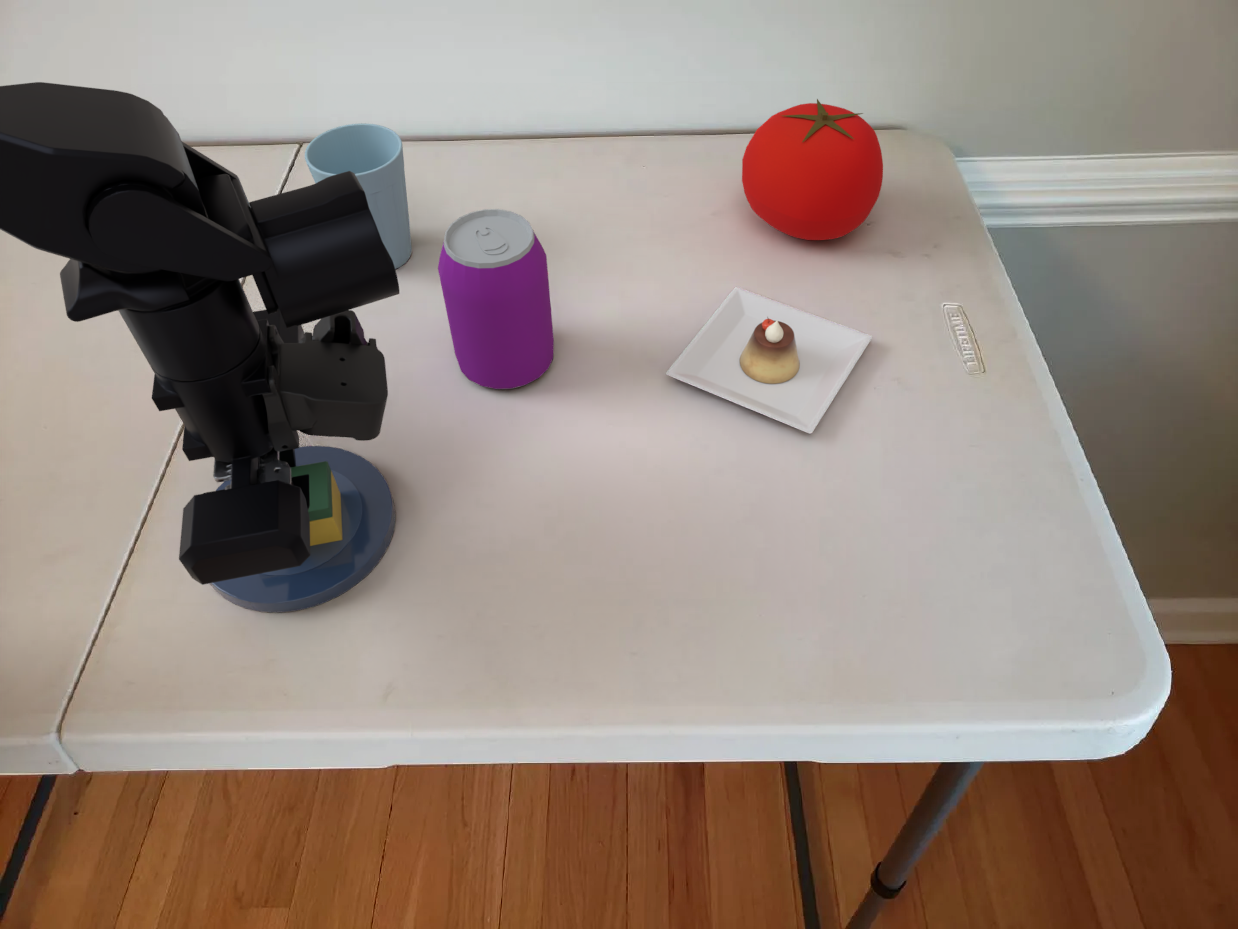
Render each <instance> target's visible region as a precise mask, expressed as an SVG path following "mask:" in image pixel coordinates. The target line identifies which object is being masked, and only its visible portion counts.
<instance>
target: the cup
mask: <svg viewBox="0 0 1238 929" xmlns="http://www.w3.org/2000/svg"><path fill="white" fill-rule="evenodd" d="M403 148H404V146H403V141H402V138H401V137H400V135H399V134H398V133H397V132H396V131H394V130H393V129H391V128H389V127H386V126H384V125H380V124H375V123H366V122H365V123H362V122H361V123H350V124H343V125H339V126H336V127H332V128H329V129H328V130H326V131H324V132H322V133H320V134H318V135H316V137H314V138H313V139H312V140H311V141H310V142H309V143H308V144H307V146H306V148H305V151H304V160H305V161H304V162H305V163H306V166H307V167H308V170H309V173H310V175H311V177H312V180H313V181H314V184H316V183H317V182H319V181H321V180H323V179H325V178H327V177H330V176H333V175H336V174H340V173H344V172H347V171H351V172H353V173H355V175H356V177H357V179H358V181H359V183H360V184H361V186H362V188H363V190H364V192H365V195H366V198H367V202H368V206H369V209H370V211H371V214H372V216H373V219H374V221H375V223H376V226H377V229H378V231H379V234H380V237H381V239H382V242H383V244H384V245H385V247H386V249H387V251H388V253H389V255H390V257H391V258H392V261H393V263H394V267H395V270H397V269H399V268H401V267H402V266H404V264H406V263H407V262H408V261H409V260H410V257H411V256H412V251H413V249H412V237H411V226H410V216H409V206H408V205H409V202H408V194H407V182H406V173H405V172H406V171H405V159H404V149H403Z"/></svg>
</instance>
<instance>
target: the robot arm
mask: <svg viewBox="0 0 1238 929" xmlns="http://www.w3.org/2000/svg"><path fill="white" fill-rule="evenodd" d="M0 231H2V232H4V233H6V234H8V235H10V236H11V237H13V238H15V239H17V240H19V241H20V242H22V243H24V244H26V245H27V246H30V247H31V248H34V249H35V250H39V251H42V252H46V253H49V254H53V255H56V256H60V257H63V258H66V259H68V261H67V263H66V264H65V265H64V266H63V268H62V269H61V270H60V272H59V278H60V284H61V289H62V290H61V291H62V295H63V302H64V307H65V313H66V316H67V318H68V319H69V320H70V321H72V322H75V323H79V322H83V321H87V320H90V319H93V318H96V317H100V316H104V315H107V314H110V313H113V312H117V311H118V313H119V314H120V316H121V317H122V319H123V321H124V323H125V325H126V326H127V329H128V330H129V331H130V333H131V335H132V337H133V339H134V340H135V342H136V344H137V345H138V347H139V349H140V351H141V353H142V354H143V356H144V358H145V359H146V361H147V363H148V364H149V367H150V368H151V370H152V372H153V374H154V376H153V384H152V391H151V400H152V402H153V404H154V405H155V407H156V408H157V410H158V411H159V412H164V411H169V410H170V411H171V410H175V412H176V413H177V415H178V417H179V419H180V421H181V422H182V424H183V426H184V427H183V436H182V437H183V438H182V448H181V450H182V452H183V453H184V455H185V457H186V459H187V460H188V461H189V462H191V461H192V462H193V461H197V460H204V459H209V458H214V459H213V474H212V475H213V479H214V480H215V482H216V483H223V482H225V481H229V480H231V485H227V486H226V487H225V489H223V490H217V491H216V490H213V491H207V492H203V493H199V494H194V495H193V496H192V497H191V498H190V500H189V501H188V502H187V504H185V505H184V507H183V508H182V517H181V518H182V519H181V530H180V542H179V551H178V553H179V554H178V556H179V557H178V560H179V562H180V563H181V564H182V566H183V568H184V569H185V570H186V571H187V573H188V574H189V576H190V578H191V579H193V580H194V581H196V582H197V583H199V584H200V585H202V586H203V585H210V584H209V583H214V582H219V581H225V580H230V579H235V578H240V577H245V576H251V575H256V574H261V573H266V572H271V571H277V570H282V569H287V568H292V567H297V566H300V565H301V564H302V563H303V562H304V561H305V560H306V559H307V558H308V557H309V556H310V518H309V513H308V510H309V507H310V491H309V474H306V475H301V476H295V477H292V473H291V468H290V467H296V457H295V449H297V448H299V447H300V435H299V432H301V433H302V434H304V435H307V436H313V437H331V438H332V437H333V438H346V439H347V438H350V439H354V440H355V441H361V442H368V441H372V440H374V439H376V438H378V437H379V436H380V434H381V430H382V429H381V428H382V424H383V419H384V415H385V412H386V411H385V410H386V406H387V401H388V397H389V390H388V389H389V388H388V378H387V370H386V358H385V356H384V354H383V352H382V351H381V350H380V349H378V348H379V347H378V346H377V339H376V338H373V337H369V338H368V341H367V340H366V337H365V331H364V329H363V327H362V325H361V322H360V320H359V318H358V316H357V314H356V312H355V310H353V309H357V308H360V307H363V306H366V305H369V304H372V303H375V302H378V301H381V300H385V299H389V298H392V297H394V296H395V297H396V296H397V295H400V283H399V280H398V275H397V271H396V270H397V269H395V267H394V263H393V261H392V258H391V257H390V255H389V253H388V251H387V249H386V247H385V245H384V244H383V242H382V239H381V237H380V234H379V231H378V229H377V226H376V223H375V221H374V219H373V216H372V214H371V211H370V209H369V206H368V202H367V198H366V195H365V192H364V190H363V188H362V186H361V184H360V183H359V181H358V179H357V177H356V175H355V173H353V172H351V171H347V172H344V173H340V174H336V175H333V176H330V177H327V178H325V179H323V180H321V181H319V182H317V183H313V184H310V185H307V186H303V187H300V188H296V189H292V190H288V191H285V192H282V193H278V194H277V193H276V194H274V195H270V196H267V197H263V198H260V199H255V200H252V201H249V200H248V197H247V194H246V192H245V190H244V188H243V185H242V182H241V179H240V178H239V176H238V175H237V174H236V173H234V172H233V171H231V170H229V169H228V168H226V167H225V166H223V165H221V164H220V163H218V162H217V161H214V160H213V159H211V158H210V157H208V156H206V154H204V153H202V152H200V151H198V150H197V149H196V148H194V147H193V146H190V145H189V144H187V143H185V142H184V141H182V139H181V136H180V133H179V132H178V130H177V129H176V128H175V126H174V125H173V124H172V122H171V121H170V119H169V118H168V117H167V116H166V115H164V112H163V110H162V109H161V108H159V107H157V106H156V105H155V104H153V103H152V102H150V101H149V100H147V99H145V98H142V97H140V96H138V95H135V94H133V93H130V92H125V91H120V90H115V89H105V88H97V87H89V86H88V87H86V86H80V85H79V86H78V85H69V84H60V83H52V82H43V81H35V82H26V83H16V84H6V85H0ZM250 276H252V278H253V282H254V283H255V286H256V288H257V291H258V293H259V295H260V298H261V300H262V302H263V305H264V308H265V309H262V310H256V311H253V309H252V307H251V304H250V302H249V299H248V297H247V294H246V292H245V290H244V287H243V285H242V283H241V281H240V279H243V278H248V277H250ZM318 320H319V321H318ZM316 321H318V322H317V323H316V324H315V325H314V327H313V329H312V330H313V331H312V332H310V331H309V332H308V331H304V328H303V325H305V324H308V323H311V322H312V323H313V322H316ZM298 431H299V432H298Z"/></svg>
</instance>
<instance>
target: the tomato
mask: <svg viewBox="0 0 1238 929" xmlns="http://www.w3.org/2000/svg"><path fill="white" fill-rule="evenodd" d="M863 114H864V112H860V113H859V112H857V113H856V112H853V111H852V110H849V109H846V108H844V107H841V106H836V105H832V104H826V103H821V101H820V100H819V98H816V103H815V102H807V103H800V104H797V105H794V106H791V107H788V108H786V109H783V110H781V111H778V112H777V113H775V114H773V115H771V116H770V117H769V118H768V119H767V120H766V121H765V122H764V123H762V125H760V126H759V127H758V128H756V130H755V132H754V134H753V135H752V137H751V138H750V140H749V142H748V144H747V145H746V147H745V150H744V154H743V156H742V160H741V161H742V162H741V163H742V164H741V165H742V166H741V168H742V169H741V183H742V187H743V193H744V195H745V198H746V201H747V202H748V204H749V206H750V208H751V210H752V211H753V212H754V213H755V214H756V216H758V217H759V218H760V219H762V221H764V222H765V223H766V224H768V225H769V226H770V227H772V228H774V229H775V230H777V231H779V232H781V233H783V234H785V235H788V236H790V237H792V238H793V237H794V238H796V239H800V240H806V241H807V240H808V241H825V240H833V239H834V240H835V239H837V238H842V237H844V236H846V235H848V234H850V233H851V232H853V231H854V230H856V229H857V228H858V227H859V226H861V225H862V224H863V223H864V222H865V221H866V219H867V218H868V216H869V215H870V214H871V212H872V210H873V209H874V207H875V205H876V203H877V201H878V199H879V197H880V194H881V190H882V186H883V178H884V160H883V153H882V148H881V145H880V142H879V138H878V136H877V133H876V130H875V129H874V128H873V126H871V125H870V124H869V123H868V122H867V121H866V120H865V119H864V118H863V117H861V116H860V115H863Z"/></svg>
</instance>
